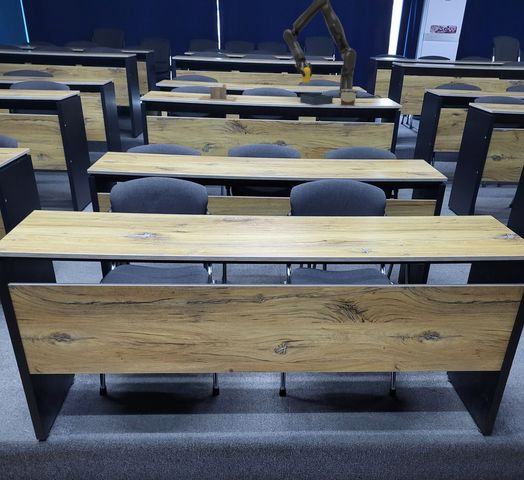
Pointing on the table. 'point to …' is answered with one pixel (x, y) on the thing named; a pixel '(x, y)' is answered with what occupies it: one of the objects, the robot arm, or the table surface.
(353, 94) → the food container
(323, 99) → the crate
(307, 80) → the pepper
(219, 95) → the ruin model on sheet
